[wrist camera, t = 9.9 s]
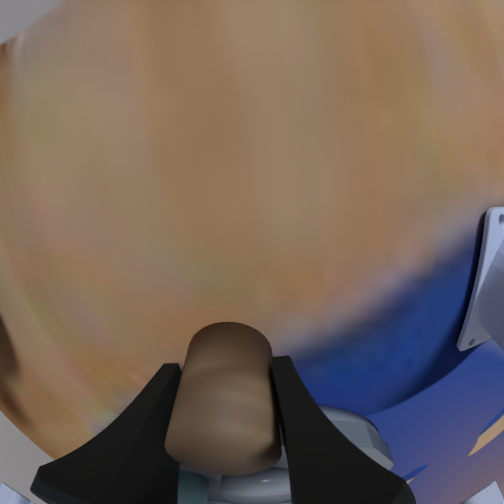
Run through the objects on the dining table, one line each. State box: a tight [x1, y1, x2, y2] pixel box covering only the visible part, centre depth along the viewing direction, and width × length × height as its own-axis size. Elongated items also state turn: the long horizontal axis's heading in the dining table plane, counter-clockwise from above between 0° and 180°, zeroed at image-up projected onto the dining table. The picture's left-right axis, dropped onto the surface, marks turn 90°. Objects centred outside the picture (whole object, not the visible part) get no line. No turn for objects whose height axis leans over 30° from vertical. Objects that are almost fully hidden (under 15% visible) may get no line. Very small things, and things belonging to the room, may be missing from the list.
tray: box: [179, 405, 394, 504], centre depth 15 cm, size 18×18×3 cm
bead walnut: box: [165, 322, 282, 475], centre depth 9 cm, size 4×4×5 cm
